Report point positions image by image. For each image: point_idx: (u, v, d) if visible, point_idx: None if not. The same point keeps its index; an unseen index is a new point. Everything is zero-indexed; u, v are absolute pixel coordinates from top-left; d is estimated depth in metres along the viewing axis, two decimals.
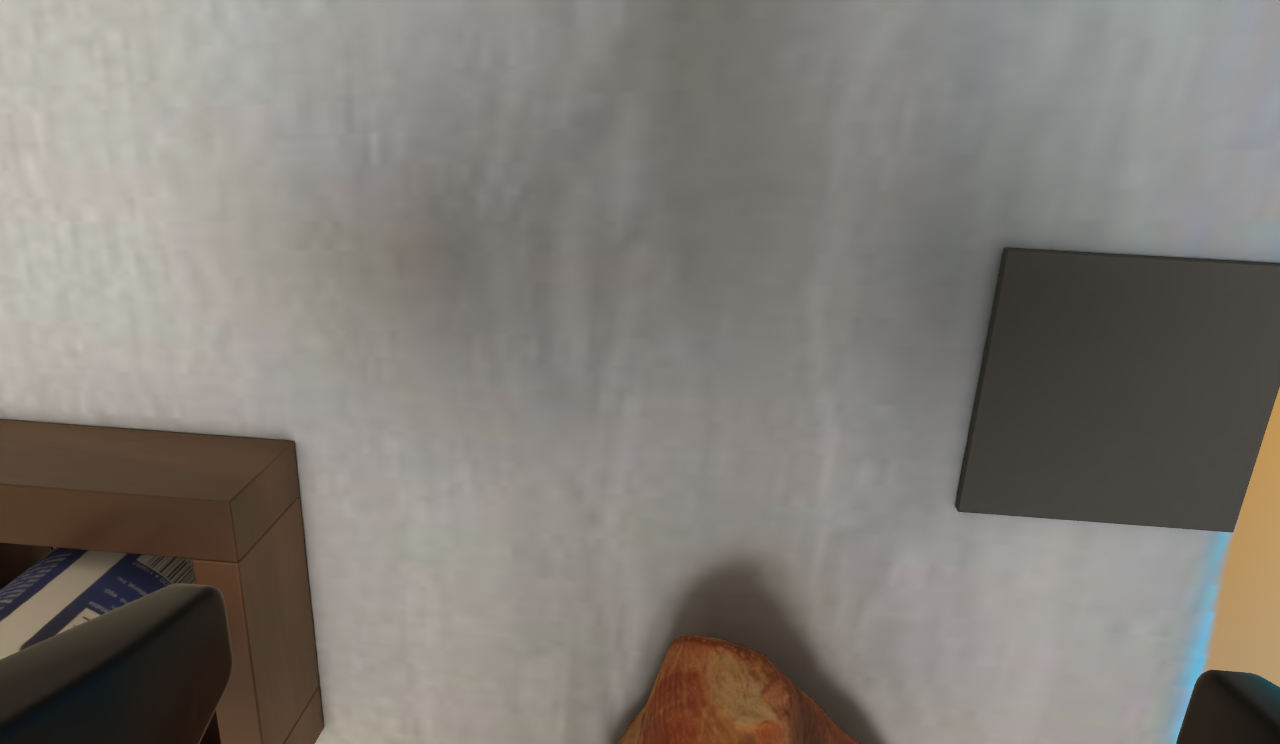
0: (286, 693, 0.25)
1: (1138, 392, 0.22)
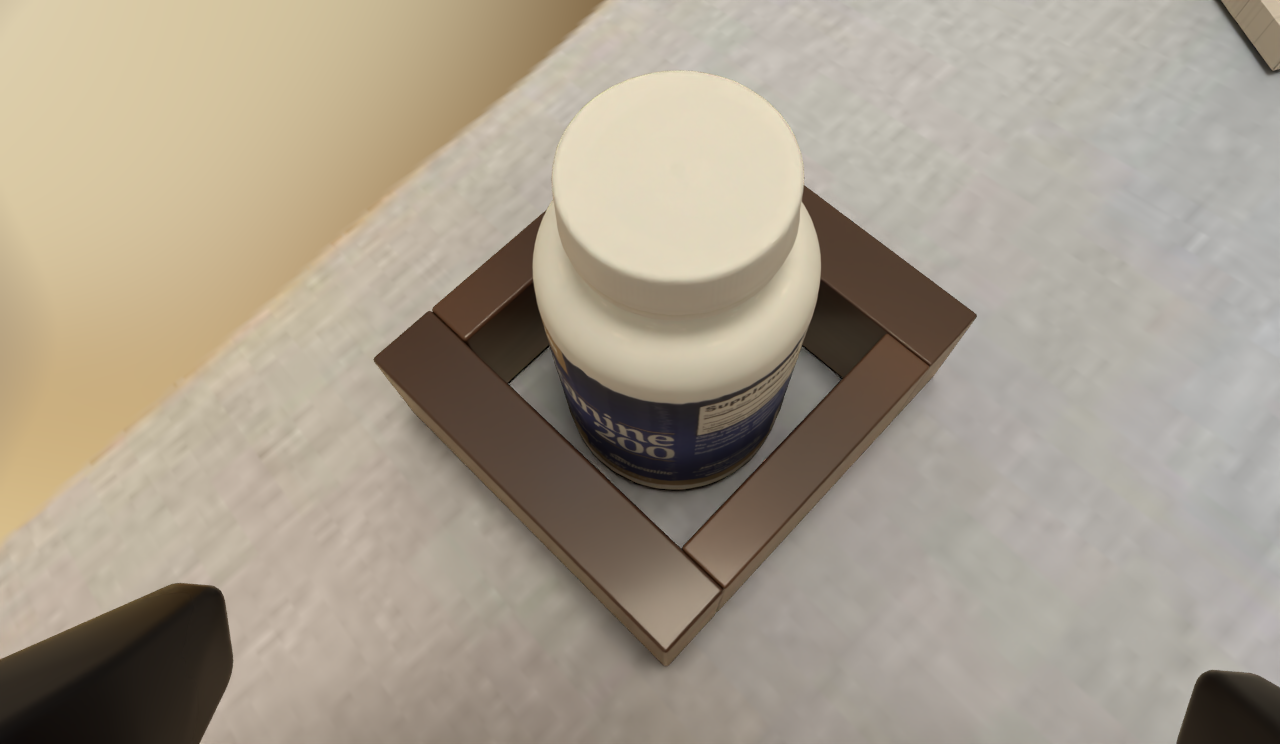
0: (763, 554, 0.19)
1: None
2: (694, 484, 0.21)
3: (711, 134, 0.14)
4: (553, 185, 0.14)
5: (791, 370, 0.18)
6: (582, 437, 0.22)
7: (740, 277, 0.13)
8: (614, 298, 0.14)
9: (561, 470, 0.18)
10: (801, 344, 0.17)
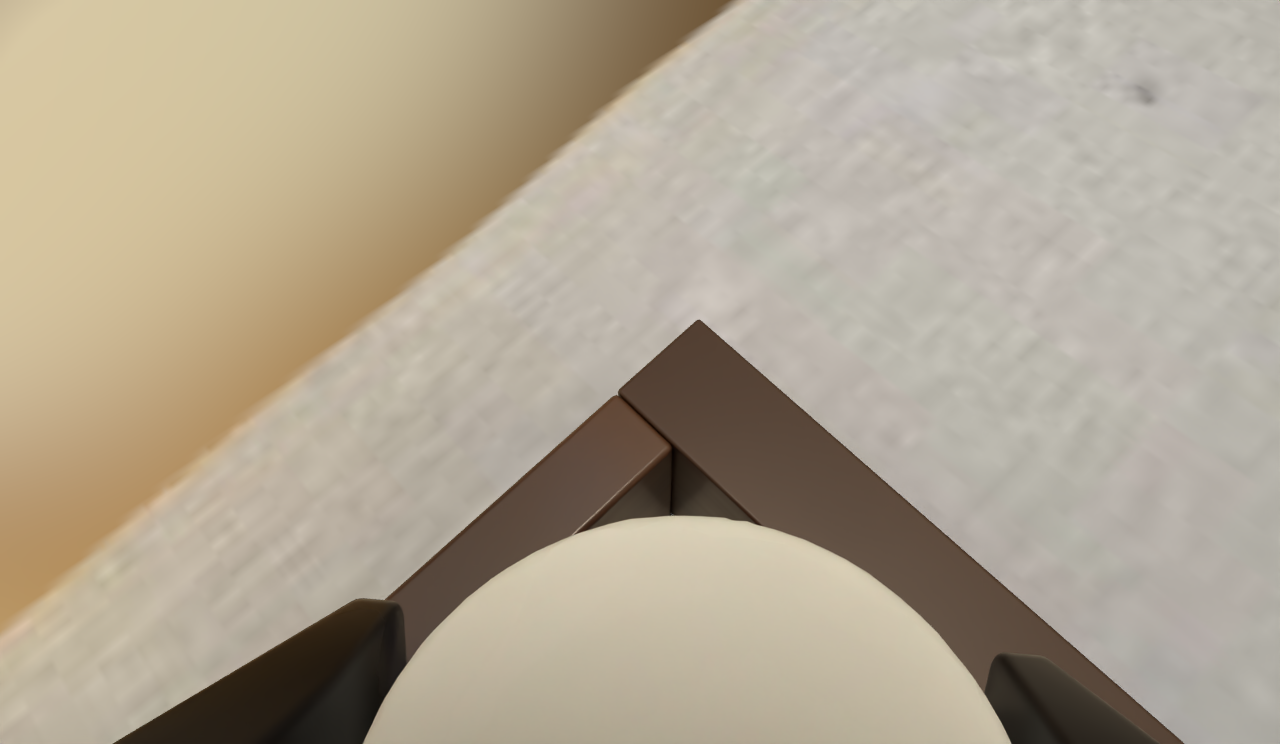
0: None
1: None
2: None
3: None
4: None
5: None
6: None
7: None
8: None
9: None
10: None
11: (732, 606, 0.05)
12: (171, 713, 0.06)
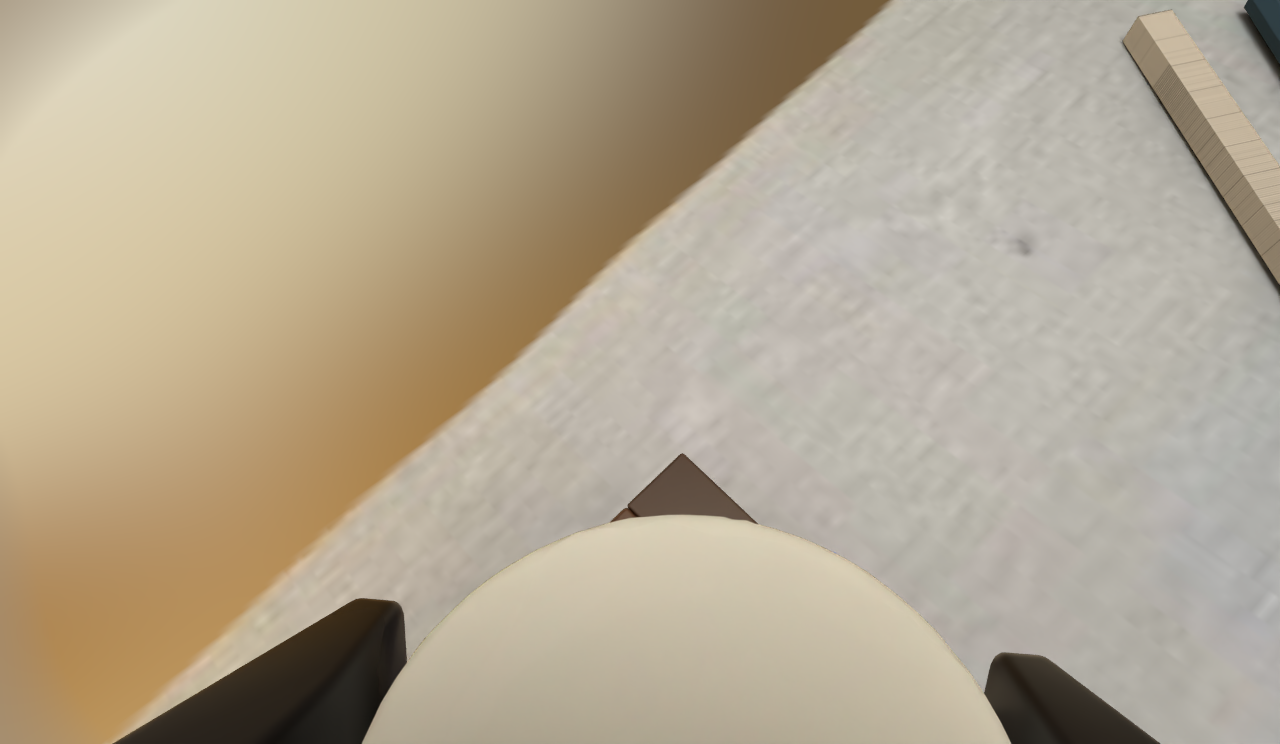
0: None
1: None
2: None
3: None
4: None
5: None
6: None
7: None
8: None
9: None
10: None
11: (731, 605, 0.05)
12: (170, 713, 0.06)
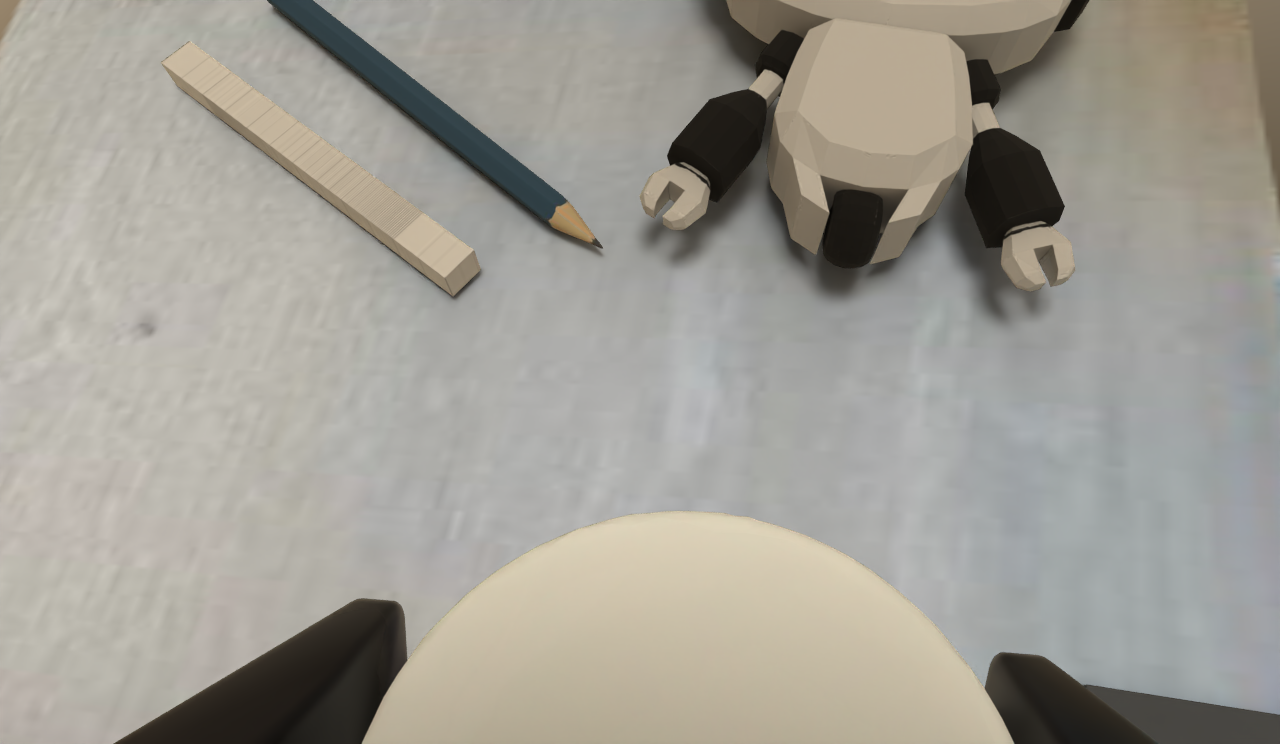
0: None
1: None
2: None
3: (784, 740, 0.05)
4: None
5: None
6: None
7: None
8: None
9: None
10: None
11: (733, 601, 0.05)
12: (171, 713, 0.06)
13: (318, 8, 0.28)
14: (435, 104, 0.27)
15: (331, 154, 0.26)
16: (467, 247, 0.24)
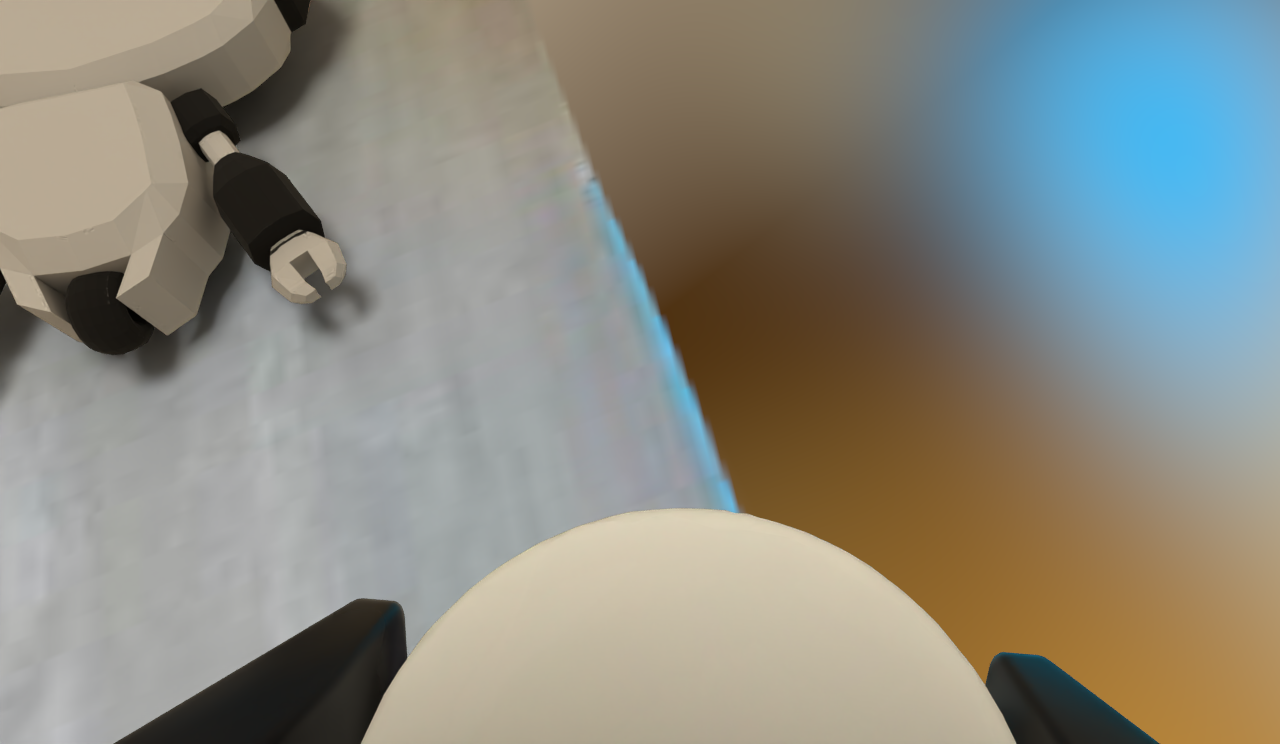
0: None
1: None
2: None
3: (785, 737, 0.05)
4: None
5: None
6: None
7: None
8: None
9: None
10: None
11: (734, 598, 0.05)
12: (172, 713, 0.06)
13: None
14: None
15: None
16: None
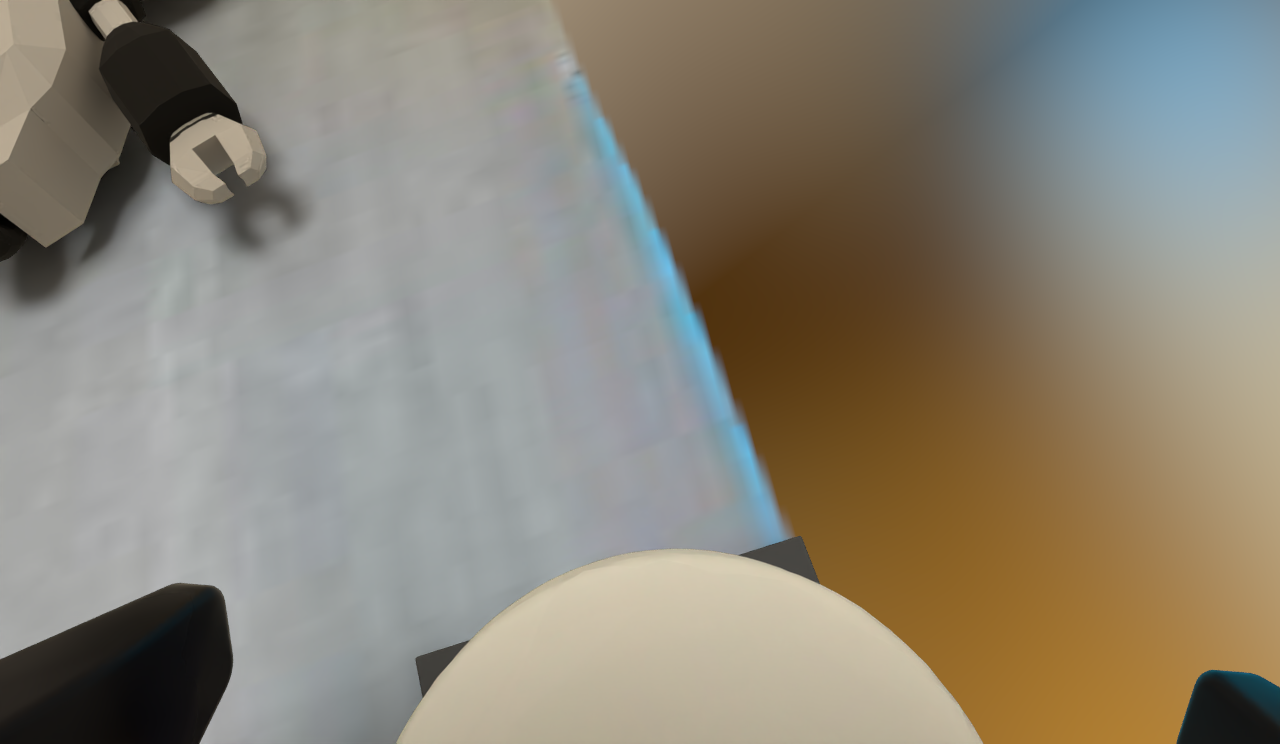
0: None
1: None
2: None
3: None
4: None
5: None
6: None
7: None
8: None
9: None
10: None
11: (732, 640, 0.06)
12: None
13: None
14: None
15: None
16: None
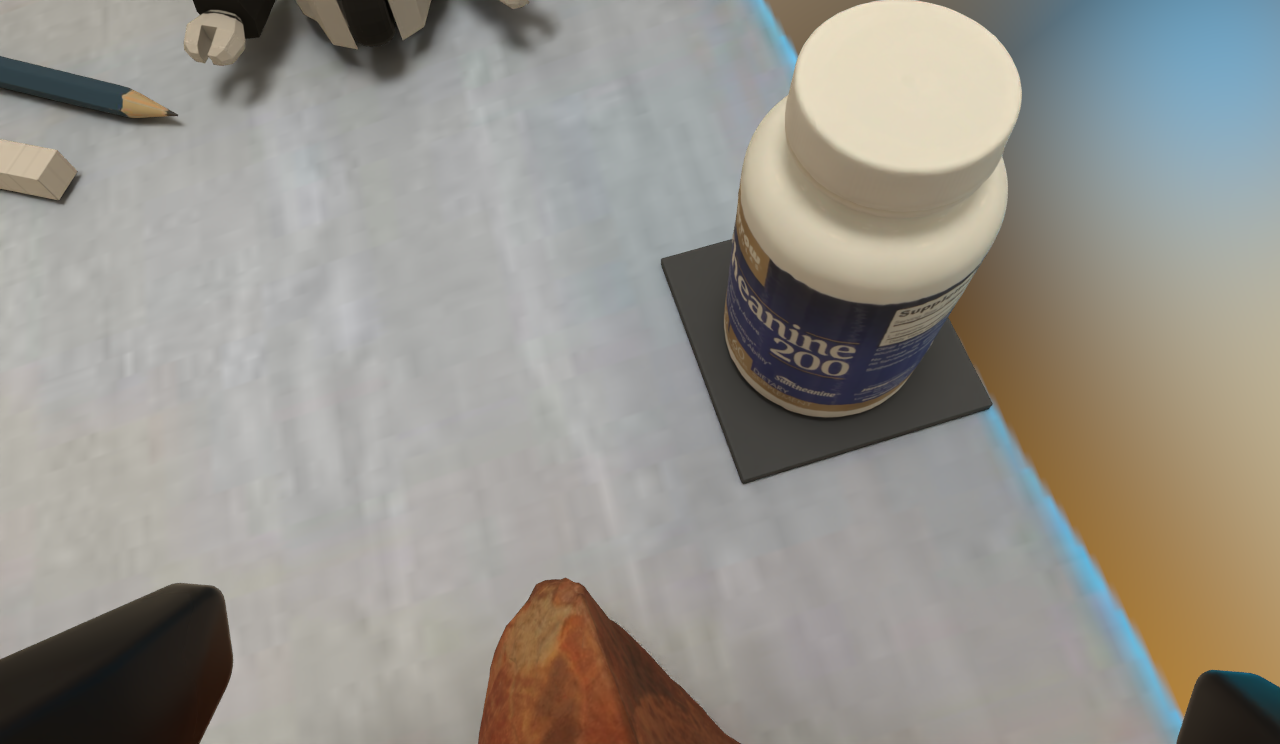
0: None
1: None
2: (847, 411, 0.23)
3: (935, 52, 0.16)
4: (797, 91, 0.16)
5: None
6: (739, 367, 0.23)
7: (968, 173, 0.15)
8: (844, 195, 0.16)
9: None
10: None
11: (915, 20, 0.16)
12: None
13: None
14: None
15: None
16: (52, 152, 0.27)
